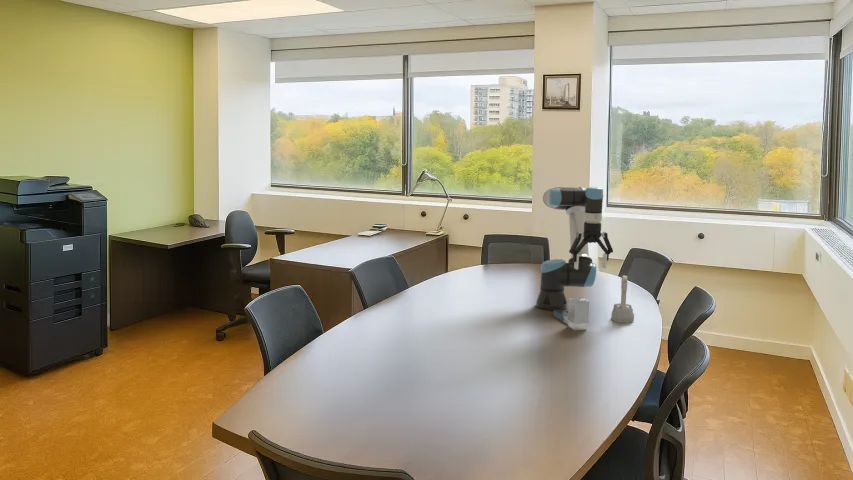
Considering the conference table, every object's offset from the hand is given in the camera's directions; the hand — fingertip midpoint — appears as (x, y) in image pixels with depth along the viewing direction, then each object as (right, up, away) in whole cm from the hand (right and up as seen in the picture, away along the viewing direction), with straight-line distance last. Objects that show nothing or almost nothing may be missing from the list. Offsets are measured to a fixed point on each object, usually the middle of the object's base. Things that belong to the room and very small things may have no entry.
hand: (590, 268), depth 297 cm
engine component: (+17, -24, +7) cm, 30 cm away
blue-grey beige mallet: (-10, -25, +1) cm, 26 cm away
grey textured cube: (-7, -23, -8) cm, 25 cm away
